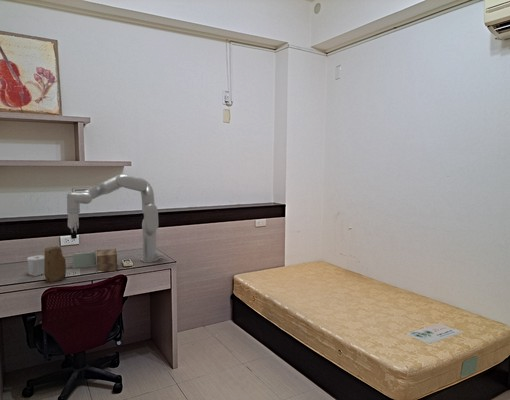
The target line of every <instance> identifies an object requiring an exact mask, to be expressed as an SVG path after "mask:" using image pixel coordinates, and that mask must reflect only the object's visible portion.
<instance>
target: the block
mask: <svg viewBox="0 0 510 400" xmlns="http://www.w3.org/2000/svg"><path fill="white" fill-rule="evenodd" d="M43 255H44V273H45V274H44V278H45V280H46V282H50V283H51V282H52V283H53V282H58V281H61V280H62V281H63V280H64V279H65V278H66V273H67V266H66V265H67V264H66V258H65V256H64V255H63V251H62V248H61V246H58V245H57V246H49V247H46V248H44V254H43Z"/></svg>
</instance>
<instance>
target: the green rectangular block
mask: <svg viewBox="0 0 510 400" xmlns="http://www.w3.org/2000/svg"><path fill="white" fill-rule="evenodd" d="M91 266H97V250H94V251H89V252H79V253H73V254H72V268H73V269H75V268H76V269H77V268H81V267H82V268H83V267H91Z"/></svg>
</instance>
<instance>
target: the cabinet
mask: <svg viewBox="0 0 510 400" xmlns="http://www.w3.org/2000/svg"><path fill="white" fill-rule="evenodd" d="M96 270H97V271H109V272H117V271H118V254H117V249H116V248H110V249H108V248H107V249H97V250H96ZM97 271H96V272H97Z"/></svg>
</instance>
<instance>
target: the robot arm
mask: <svg viewBox="0 0 510 400" xmlns="http://www.w3.org/2000/svg"><path fill="white" fill-rule="evenodd" d="M121 188H124V189H129V190H133V191H137V192H140V197H141V212H142V213H143V219H142V222H141V231H142V256H141V257H140V261H141V262H142V263H143V262H144V263H153V261H154V262H158V260H159V258H163V257H164V254H163V253H157V230H158V229H159V212H158V210H159V209H158V206H157V205H156V204H155V193H154V190H153V186H152V185H151V183H150V182H149V181H147V180H146V179H144V178H142V177H135V176H130V175H127V174H126V173H119V174H116V175H115V176H113V177H111V178H109V179H106V180H105V181H103V182H100V183H99V184H96V185H94V186H92V187H90V188H87V189H86V190H84V191H81V193H80V192H77V191H76V192H74V191H73V192H72V191H71V192H67V194H66V213H67V214H66V215H67V228H69V229H70V239H71V240H73V239H74V240H75V239H77V237H78V234H77V233H78V232H77V229H79V226H80V222H79V214H81V207H80V206H81V204H83V205H88V204H90V203H91V202H92V201H93V200H94V199H96V198H98V197H101V196H103V195H104V196H105V195H109V194H111V193H113V192H115V191H117V190H119V189H121Z"/></svg>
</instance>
